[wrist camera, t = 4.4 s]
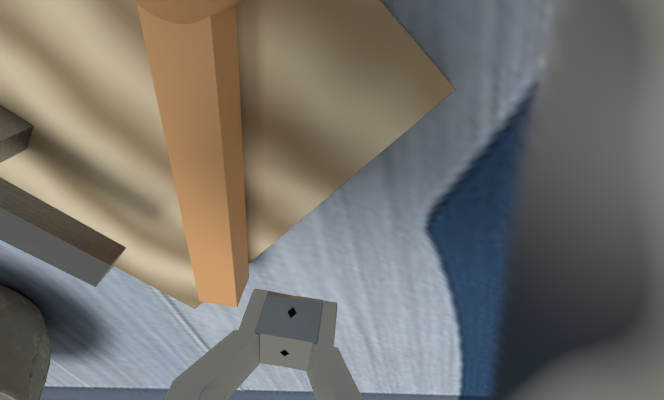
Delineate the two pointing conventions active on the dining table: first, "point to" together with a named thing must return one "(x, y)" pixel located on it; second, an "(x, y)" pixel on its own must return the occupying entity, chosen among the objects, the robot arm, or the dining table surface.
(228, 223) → the latch bar
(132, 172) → the board
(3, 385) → the ceramic bowl
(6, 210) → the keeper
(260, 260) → the dining table surface
